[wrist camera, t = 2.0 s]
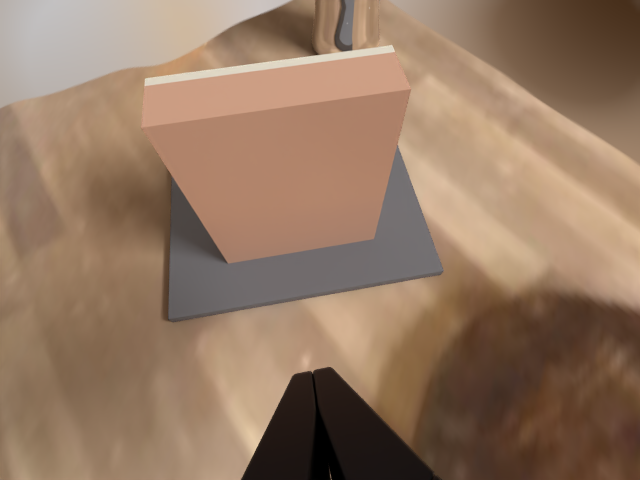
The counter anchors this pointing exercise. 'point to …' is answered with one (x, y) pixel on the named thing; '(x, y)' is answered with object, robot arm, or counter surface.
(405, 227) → the mat
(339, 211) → the tile
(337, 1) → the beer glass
